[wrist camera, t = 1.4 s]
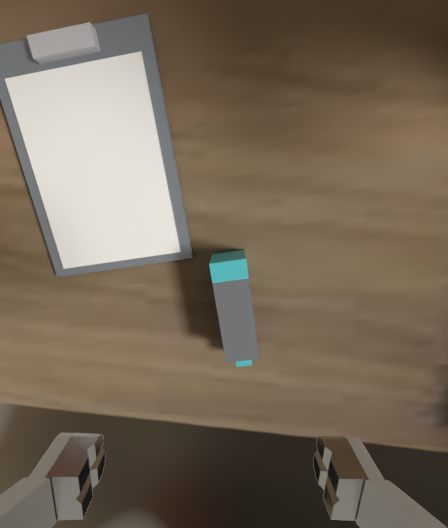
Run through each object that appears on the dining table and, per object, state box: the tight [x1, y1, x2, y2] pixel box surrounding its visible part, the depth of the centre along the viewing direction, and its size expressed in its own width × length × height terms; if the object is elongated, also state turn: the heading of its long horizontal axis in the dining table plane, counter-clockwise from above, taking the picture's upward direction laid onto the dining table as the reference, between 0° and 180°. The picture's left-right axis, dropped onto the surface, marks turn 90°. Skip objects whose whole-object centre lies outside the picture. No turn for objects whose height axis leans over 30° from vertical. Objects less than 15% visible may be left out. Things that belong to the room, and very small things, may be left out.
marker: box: [209, 250, 260, 367], centre depth 29 cm, size 13×4×4 cm, turn 9°
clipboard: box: [0, 13, 193, 277], centre depth 27 cm, size 16×23×2 cm
